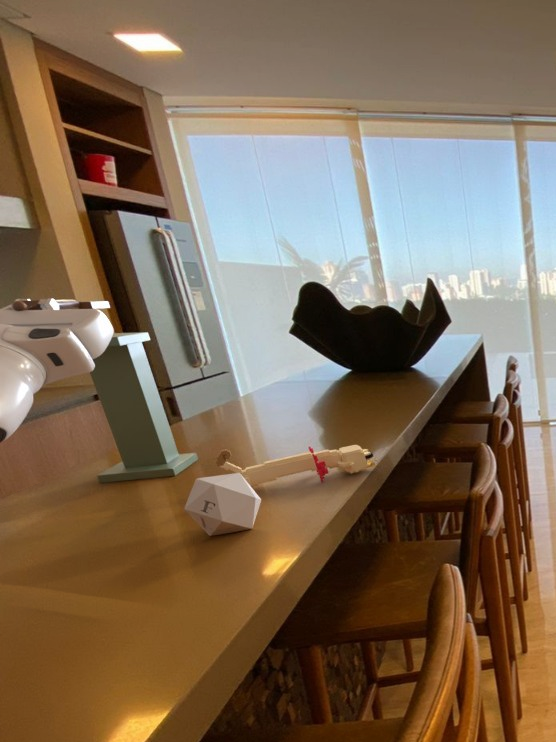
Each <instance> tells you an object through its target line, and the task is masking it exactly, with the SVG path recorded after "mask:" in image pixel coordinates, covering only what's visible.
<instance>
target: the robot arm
mask: <svg viewBox="0 0 556 742" xmlns="http://www.w3.org/2000/svg"><path fill="white" fill-rule="evenodd" d="M39 300H40V301H39V302H38V305H39V306H40V308H41V309H42V310H23V311H16V310H14V309H13V307H12V303H10V304H9V305H7V306H3V307H2V308H0V444H1V443H3V442H5V441H6V440H8V439H9V438H10V437H11V436H12V435H13V434H14V433H15V432H16V431H17V430H18V428H19V427H20V426H21V425H22V423H23V422H24V420H25V418H27V416H28V414H29V412H30V411H31V408H32V407H33V404H34V395H35V394H36V393H38V392H39V391H40V389H41V388H42V387H43V386H44V385H49V384H51V383H55V382H57V381H59V380H64V379H66V378H70V377H75V376H80V375H85V374H90V372H91V371H93V370H94V368H95V364H94V362H93V360H92V359H95V358H97V357H99V356H100V355H101V354H102V353H103V352H104V351H105V349H106V348H107V346H108V344H109V342H110V340H111V338H112V336H113V333H115V330H114V326H113V325H112V323H111V321H110V320H109V318H108V317H107V315H106V314H105V313H104V312H103V311H101V309H66V310H59V306H58V304H57V303H56V301H55V300H56V299H54V298H40V299H39ZM15 301H32V300H31V299H30V298H16V299H15V300H14V302H15Z"/></svg>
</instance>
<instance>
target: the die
mask: <svg viewBox="0 0 556 742" xmlns="http://www.w3.org/2000/svg"><path fill="white" fill-rule="evenodd" d="M261 503H262V498H261V497H260V496H259V495H258V494H257V492H256V491H255V490H254V488H253V487H251V486H250V485H249V484H248V483H247V481H246V480H245V479H244V478H243V476H242V475H241V474H240V473H236V472H233V473H226V474H221V475H220V474H219V475H213V476H205V477H198V478H195V481H194V483H193V486H192V488H191V491H190V493H189V496H188V498H187V500H186V503H185V505H184V508H183V509H184V511H185V512H186V513H187V515H189V517H191V518H192V519H193V520H194V522H196V523H197V525H199V527H200V528H201V529H203V531H204V532H205V533H206V534H207V535H208V536H209V537H213V536H218V535H225V534H230V533H235V532H241V531H247V530H252V529H253V528H254V525H255V522H256V518H257V516H258V512H259V509H260V507H261V506H260V505H261Z"/></svg>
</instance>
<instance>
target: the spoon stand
mask: <svg viewBox="0 0 556 742" xmlns="http://www.w3.org/2000/svg"><path fill="white" fill-rule="evenodd" d="M149 341H151V337H150V333H149V332H148V331H146V332H143V331H142V332H120V333H119V332H117V333H115V332H114V333H113V336H112V338H111V340H110V342H109V344H108V346H107V348H106V349H105V351H104V352H103V353H102V354H101V355H100V356H99V357H97V358H95V359H92V360H93V362H94V364H95V368H94V370H93V371H91V372H89V375H90V378H91V380H92V382H93V386H94V388H95V391H96V394H97V396H98V399H99V402H100V404H101V408H102V410H103V412H104V415H105V418H106V420H107V421H106V422H107V423H108V426H109V429H110V432H111V433H112V437H113V440H114V442H115V445H116V448H117V450H118V454H119V456H120V459H121V462H119V463H116V464H115V465H113V466H111V467H110V468H107V469H106V470H104V471H102V472H100V473H98V474H97V475H96V477H97V480H98V482H99V483H100V484H103V483H113V482H124V481H135V480H145V479H146V480H147V479H157V478H166V477H167V478H169V477H176V476H177V475H178V474H180V473H181V472H183V471H184V470H186V469H187V468H188V467H190V466H192V465H193V464H194V463H196V462H197V461H198V460H199V457H198V455H197V452H189V453H188V452H186V453H179V451H178V448H177V445H176V442H175V439H174V435H173V432H172V428H171V427H170V424H169V421H168V420H169V419H168V417H167V414H166V411H165V408H164V405H163V402H162V399H161V396H160V393H159V390H158V386H157V384H156V381H155V378H154V375H153V372H152V369H151V366H150V363H149V360H148V357H147V354H146V350H145V348H144V345H143V342H149Z"/></svg>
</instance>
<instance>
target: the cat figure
mask: <svg viewBox="0 0 556 742" xmlns="http://www.w3.org/2000/svg"><path fill="white" fill-rule="evenodd" d="M308 450H309V451H307V452H302V453H298V454H293V455H288V456H284V457H280V458H274V459H271V460H270V459H269V460H266V461H264V462H263V463H261V464H256V465H251V466H247V467H244V468H245V469H243V468H242V467H239V466H237V465H236V464H234V463H231V462H228V460H230V459H231V457H233V456H232V453H231V450H228V449H227V448H225V449H221V450H220V452H219V453H218V454H217V456H216V460H215V463H216V466H217V467H219V468H221V469H223V470H224V469H225V471H229V470H230V472H233V473H240V474H241V475H242V476H243V478H244V479H245V480H246V481H247V483H248V484H249V485H250V486H251V487H252V488H255V487H258V486H259V485H260V484H265V483H268V482H273V481H277V479H279V478H283V477H287V476H292V475H295V474H299V473H300V474H301V473H304V472H309V471H311V472H316V474H317V475H318V476H319V478H320V482H321V483H323V482H324V479H325V476H326V475H327V474H329V470H330V469H331V470H332V469H335V468H340V467H341V468H343V469H344V471H345V472H347V473H350V474H353V473H358V472H360V471H362V470H366V469H368V468H371V467H374V466H376V463H375V462H378V459H377V458H376V457H374V454H373V453H372V452H371V450H370V449H368V448H362V447H361V446H360V445H358V444H352V445H348V446H342V447H339V448H338V449H336V448H335V449H331V450H330V449H323V450H319V451H318V450H317V451H314V449H313V447H311V446H308ZM328 468H329V470H328Z"/></svg>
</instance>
